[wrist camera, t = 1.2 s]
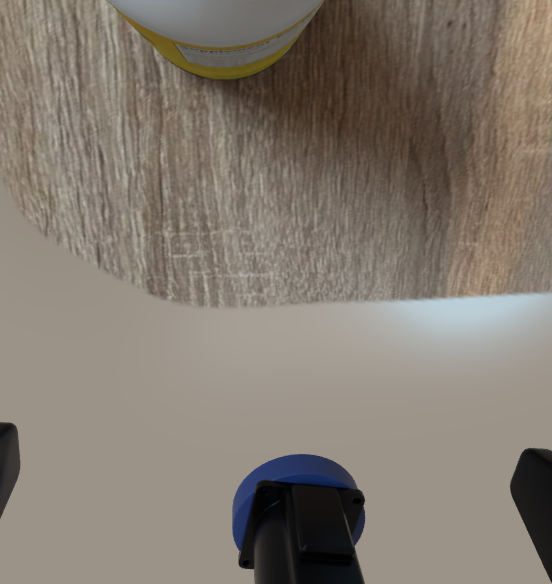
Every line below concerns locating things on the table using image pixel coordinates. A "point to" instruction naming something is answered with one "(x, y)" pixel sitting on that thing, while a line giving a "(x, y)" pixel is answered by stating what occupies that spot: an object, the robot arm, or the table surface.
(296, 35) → the pill bottle
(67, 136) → the table surface
